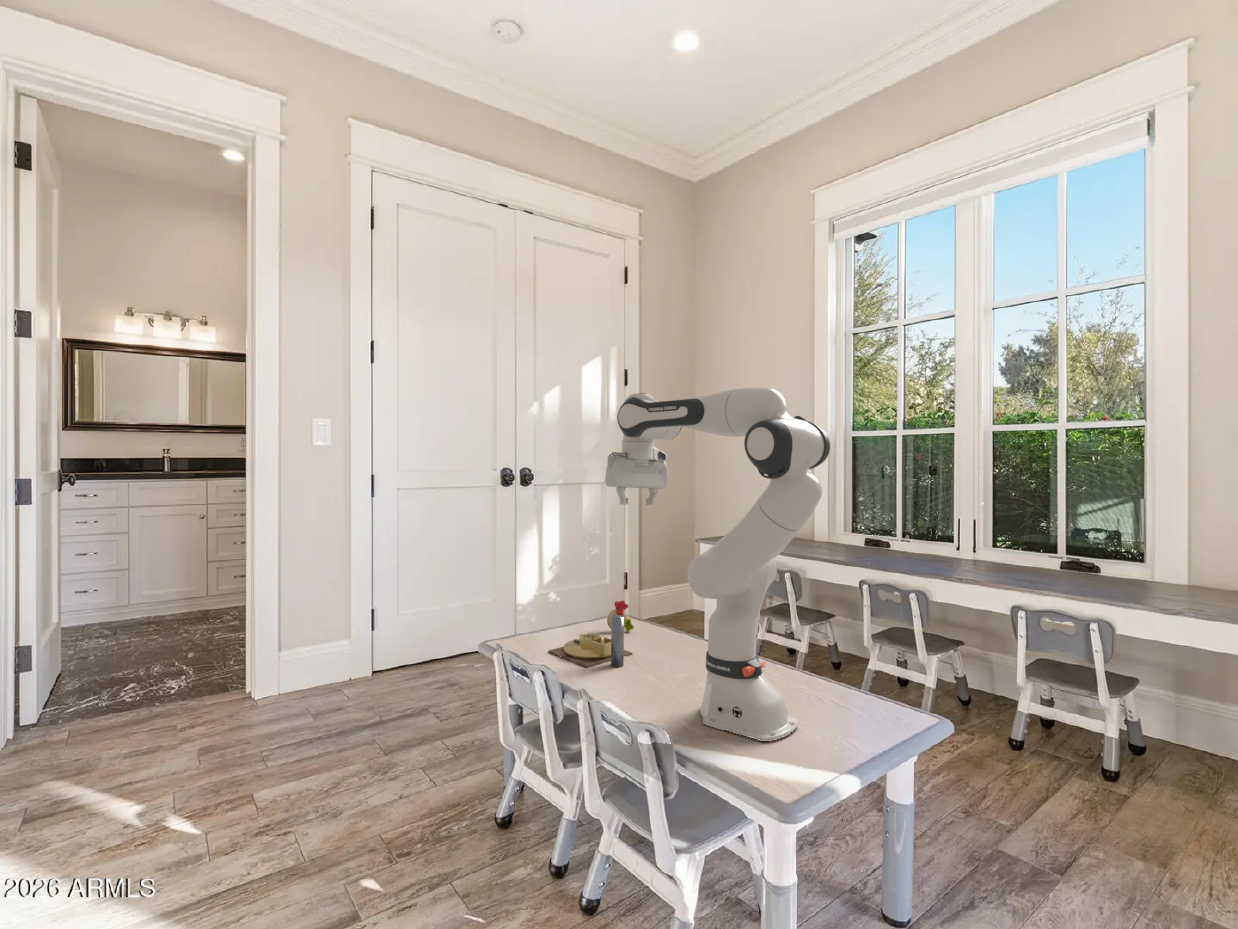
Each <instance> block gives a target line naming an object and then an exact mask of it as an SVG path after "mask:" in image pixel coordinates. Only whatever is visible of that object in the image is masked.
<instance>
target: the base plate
mask: <svg viewBox="0 0 1238 929" xmlns="http://www.w3.org/2000/svg"><path fill="white" fill-rule="evenodd" d="M548 652H550V653H549V654H551V653H552V654H551V655H553V654H554V656H556V655H557V657H558V656H561V657H563V658H565V659H564V660H566V659H567V661H568V660H570V661H569V662H572V663H573V662H575V663H574V664H576V663H577V665H578V664H579V665H578V666H582V667H584V668H585V669H587V668H591V667H594V666H598V665H602V664H605V663H608V662H611V657H608V658H603V659H593V660H587V659H577V658H573V657H570V656H568V655H566V654H565V653H564V646H560V647H556V648H553V649H549V650H548V651H547V653H548ZM632 655H633V652H631V651H629V650H626V649H624V656H626V657H628V656H632ZM561 657H560V658H561ZM563 658H562V659H563ZM604 662H605V663H604ZM601 663H602V664H601ZM597 664H598V665H597Z"/></svg>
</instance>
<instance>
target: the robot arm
mask: <svg viewBox="0 0 1238 929" xmlns="http://www.w3.org/2000/svg"><path fill="white" fill-rule="evenodd" d="M616 418H617V425H618V427H619V429H620V431H621V432H622V434H623V435H622V440H621V452H617V451H612V452H611V453H610V454H609V455H608V456H607V465H606V470H605V477H604V478H605V479H604V481H605V482H604V483H605V484H606V487H608V488H609V487H611V488H616V493H617V496H618V497H619V505H624V506H625V505H629V497H627V496H626V494H625V492H626V490H627V489H626V488H629V489H630V488H631V489H633V488H634V489H648V493H649V496H648V498H645V505H646V506H654V505H655V498H656V496H657V495H658V489H659V490H663V489H664V490H665V489H666V488H667V487H668V486H669V480H670V479H669V467H668V464H667V463H666V462H668V461H669V456H668V454H667V453H666V452H664V451H662V450H660V449H658V448H657V447H655V440H661V441H662V440H665V441H668V440H673V439H675V438H676V437H677V436H678V435H679V434H680V432H681V430H682V429H683V428H685V429H691V430H696V431H700V432H704V433H708V434H713V435H717V436H723V437H738V438H739V437H744V442H743V443H744V444H743V445H744V451H745V454H746V456H747V458H748V459H749V461H750V463H751V464H752V465H753V466H754V467H756V469H757V471H758V473H759V474H760V476H761V477H763V478H765V479H768V480H769V484H768V485H767V487H766V488H765V490H764V491H763V492H762V494H761V495H760V496H759V497H758V499H757V500H756V501H755V502H754V504H753V505H752V507H751V508H750V509H749V511H748V512H747V513H746V514H745V515H744V517H743V518H742V519H741V521H740V522H739V523H737V525H735V526H734V527H733V528H732V529H731V530H729V531H728V533H726V534H725V535H724V536H722V537H721V538H720V540H718V541H717V542H715V544H714V545H712V546H711V547H710V548H708V549H707V550H706V551H704V552H703V553H701V554H699V555H697V556H696V557H694V558H693V559H692V560H690V563H689V565H688V569H687V581H688V584H689V587H690V588H691V590H692V592H694V594H695V595H696V596H698V597H700V598H703V599H708V600H709V599H710V600H711V599H712V600H719V602H718V605H717V606H716V608H715V610H714V611H713V612H712V614H711V615H710V617H709V619H708V629H707V630H708V636H707V637H708V638H707V651H706V654H705V669H706V677H705V678H706V681H705V688H704V693H703V698H702V702H701V705H700V708H699V713H700V715H701V716H702V723H703V725H704V724H705V725H704V726H708V727H711V728H715V729H717V730H721V731H724V730H728V731H731V732H735V733H738V734H742V735H745V736H751V737H754V738H756V739H760V740H762V741H769V740H774V739H778V738H780V737H782V736H786V735H788V734H789V733H791V732H792V731H793V730H795V729H796V728H797V729H798V727H797V724H798V720H797V719H796V718H794V717H791V716H790V715H789V714H788V707H787V701H786V699H785V697H784V696H783V694H781V692H780V691H779V690H778V689H777V688H776V687H775V685H773V684H772V683H771V682H770V681H769V679H768V678H767V677H766V676H765V675H764V674H763V668H765V667H766V665H765V664H766V663H767V661H763V662H761V663H760V660H759V658H758V655H757V654H756V653H757V633H758V632H757V630H758V629H757V628H758V621H759V615H760V612H761V608H762V606H763V603H764V599H765V595H766V593H767V591H768V589H769V587H770V586H771V584H772V583H773V582H774V581H775V579H776V577H777V574H778V565H777V562H776V559H775V558H776V557H778V556H779V555H780V554H781V553H782V552H783V551H784V550H785V548H786V547H788V545H789V543H790V542H791V541H792V540H793V539H794V538H795V537H796V535H797V534H798V533H799V532H800V530H801V529H802V528H803V527H804V525H805V524H806V523H807V522H808V521H809V519H810V518H811V516H812V514H814V511H815V509H816V508H817V506H818V504H819V502H820V500H821V498H822V495H823V489H822V485H821V482H820V481H819V478H817V477H816V475H814V474H813V473H812V470H811V469H814V468H817V467H818V466H820V465H822V464H823V463H824V462H825V461H826V460H827V459H828V457H829V454H830V452H831V441H830V438H829V436H828V433H827V432H826V431H825V430H824V429H822V428H821V427H820V426H819V425H816V424H815V423H813V422H811V421H809V420H807V419H805V418H804V417H802V416H800V415H796V416H793V417H792V416H791V415H790V414H789V413H788V409H787V402H786V400H785V398H784V396H783V395H782V394H781V392H780V391H778V390H776V389H775V388H774V389H773V388H771V387H741V388H735V389H734V388H733V389H729V390H724V391H719V392H713V393H710V394H706V395H699V396H694V397H690V398H685V399H675V400H665V401H660V400H658V399H656V398H654V396H652V395H651V394H650V393H646V392H640V393H634V394H633V393H632V394H630V395H629V396H627V397H626V398H625V400H624V402H623V403H622V404H621V406H620V407H619V409H618V411H617V415H616ZM797 729H796V730H797ZM796 730H795V731H796ZM731 732H730V733H731Z"/></svg>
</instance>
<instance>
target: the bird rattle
mask: <svg viewBox="0 0 1238 929" xmlns="http://www.w3.org/2000/svg"><path fill="white" fill-rule="evenodd" d="M613 604H614V607H615V608H614V609H613V610H612V611H610V612H609V613H608V615H607V618H606V622H607V625H608V627H609V629H610V630H611V627H612V616H613V615H622V616H624V629H625V631H626V632H627V633H630V631H631V630H634V629H635V626H634V625H633V623H632V619H631V618H630V617H628V616H627V614H626V612H625V610H627V609H628V608H629V604H628V603H626V601H625V600H620V601H614V603H613Z"/></svg>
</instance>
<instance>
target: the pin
mask: <svg viewBox="0 0 1238 929" xmlns="http://www.w3.org/2000/svg"><path fill="white" fill-rule="evenodd" d="M610 632H611V633H610V634H611V635H610V636H611V638H610V639H611V661H610V666H611V667H612V668H622V667H624V662H625V661H624V659H625V657H624V650H625V649H624V647H625V646H624V645H625V628H624V616H622V615H613V616H612V627H611V629H610Z"/></svg>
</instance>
